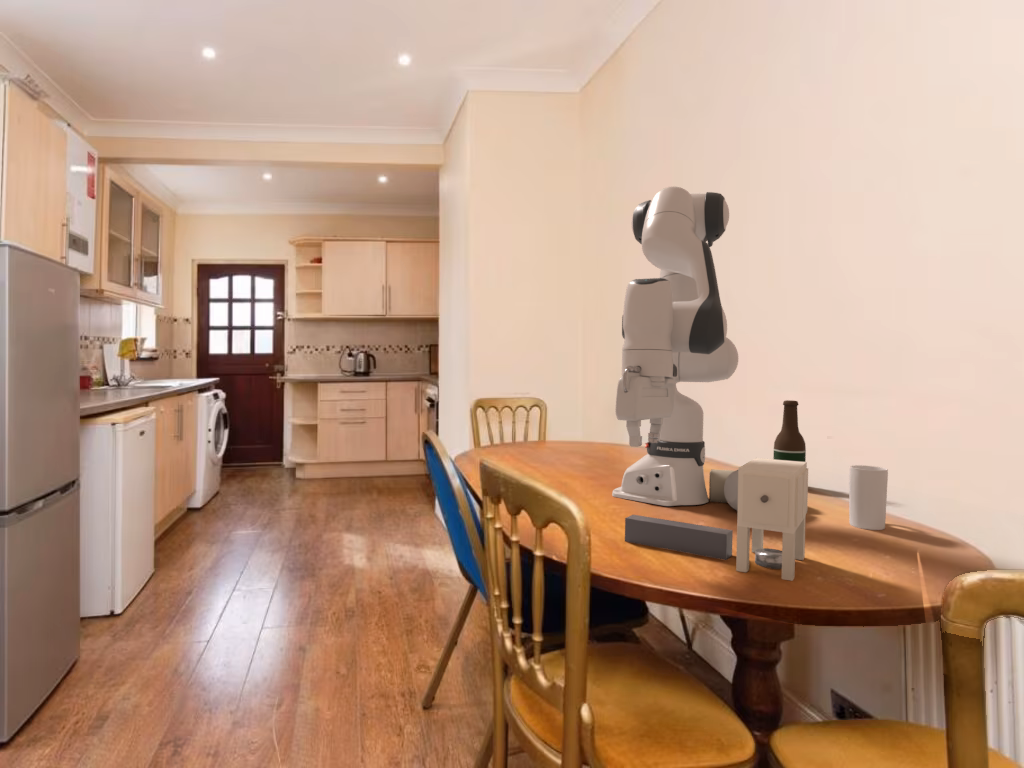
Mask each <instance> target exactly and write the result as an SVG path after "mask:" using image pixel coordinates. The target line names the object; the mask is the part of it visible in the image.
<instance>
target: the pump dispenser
mask: <svg viewBox="0 0 1024 768" xmlns="http://www.w3.org/2000/svg"><path fill="white" fill-rule="evenodd" d="M733 471H734V472H732V473H731V474H730V475H729V476H728V477H727V479H726V481H725V485H724V494H725V498H726V500H727V502H728V505H729V506H730V507H731V508H732V509H734V511H735V510H736V512H737V511H738V469H736V470H733Z"/></svg>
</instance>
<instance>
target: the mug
mask: <svg viewBox="0 0 1024 768" xmlns="http://www.w3.org/2000/svg"><path fill="white" fill-rule="evenodd" d="M888 476H889V469H888V468H886V467H883V466H882V467H881V466H875V465H863V464H861V465H860V464H858V465H857V464H855V465H854V464H852V465H849V474H848V477H849V478H848V479H849V480H848V481H849V482H848V485H849V495H848V496H849V497H848V500H849V505H848V507H849V509H848V513H849V514H848V516H849V517H848V518H849V525H850V526H851V527H854V528H858V529H863V530H869V531H883V530H885V528H886V519H887V497H888V479H889V477H888Z"/></svg>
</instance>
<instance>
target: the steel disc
mask: <svg viewBox="0 0 1024 768" xmlns="http://www.w3.org/2000/svg"><path fill="white" fill-rule="evenodd" d="M754 563H755V565H757V566H759V567H762V568H766V569H770V570H771V569H772V570H773V569H774V570H782V550H781V549H774V548H768V547H767V548H764V547H763V548H762V549H757V550H755V553H754Z"/></svg>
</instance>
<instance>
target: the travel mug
mask: <svg viewBox="0 0 1024 768" xmlns="http://www.w3.org/2000/svg"><path fill="white" fill-rule="evenodd" d="M734 471H735V470H734V469H733V470H730V469H729V470H728V469H711V470H710V471H709V478H708V479H709V480H708V481H709V487H708V488H709V489H708V490H709V491H708V492H709V493H708V494H709V495H708V499H709V501H710V502H712V503H713V502H714V503H726V504H727V503H728V502H727V500H726V498H725V494H724V485H725V481H726V479H727V477H728V476H729V475H730V474H731V473H732V472H734Z"/></svg>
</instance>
